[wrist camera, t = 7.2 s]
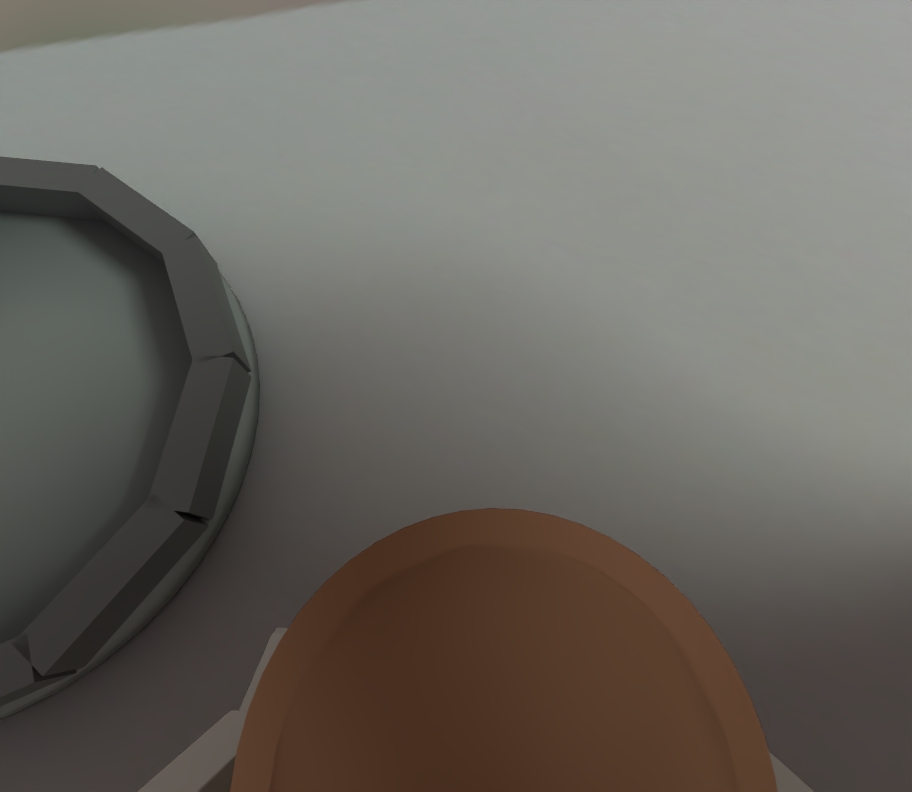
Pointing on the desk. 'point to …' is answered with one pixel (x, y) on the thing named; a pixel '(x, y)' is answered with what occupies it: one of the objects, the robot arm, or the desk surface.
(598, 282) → the desk surface
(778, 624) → the desk surface
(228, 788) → the robot arm
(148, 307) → the round dish
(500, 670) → the brown flared cylinder
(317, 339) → the desk surface
